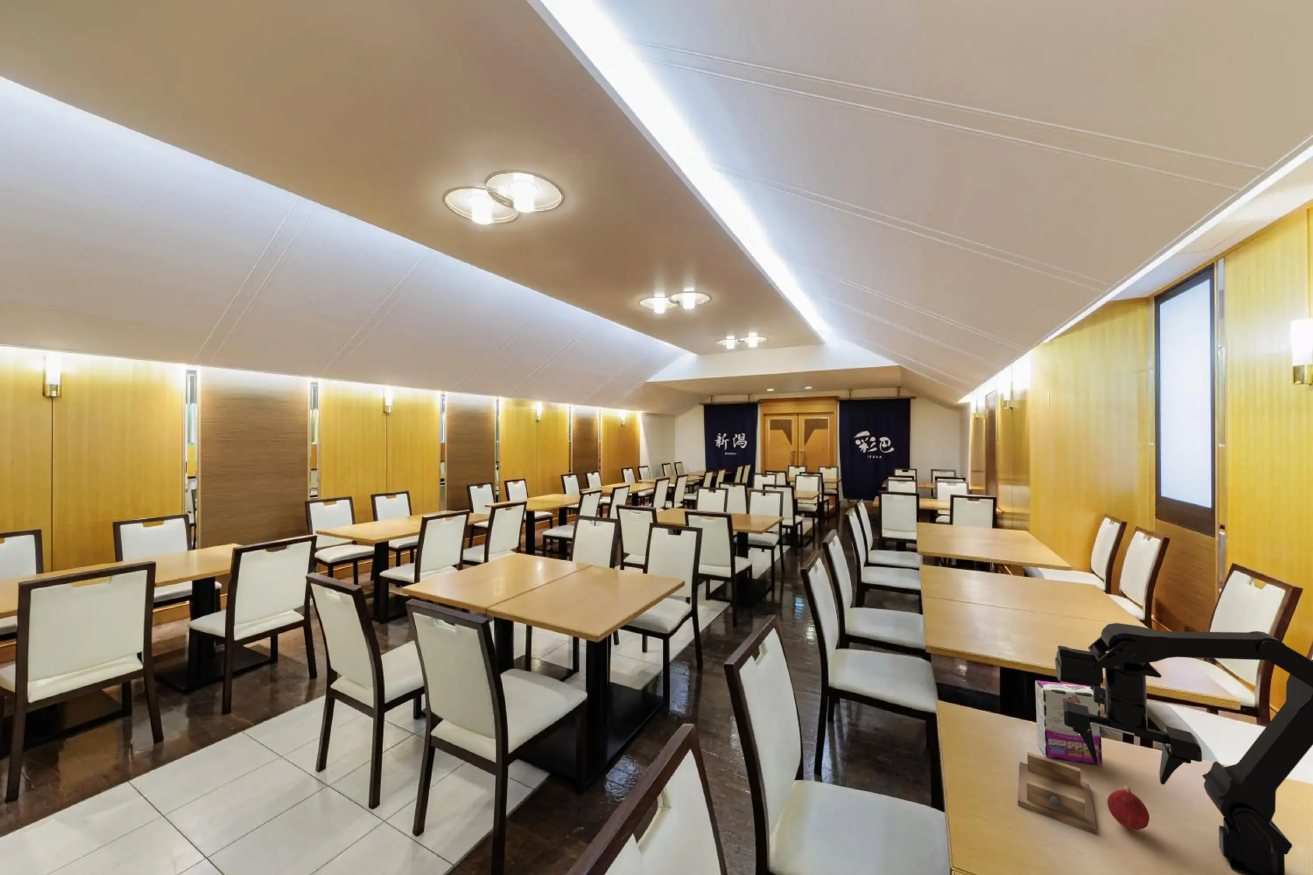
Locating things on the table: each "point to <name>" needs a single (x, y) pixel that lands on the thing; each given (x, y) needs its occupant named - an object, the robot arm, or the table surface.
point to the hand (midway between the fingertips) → (1127, 772)
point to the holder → (1055, 792)
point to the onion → (1128, 809)
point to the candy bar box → (1050, 722)
